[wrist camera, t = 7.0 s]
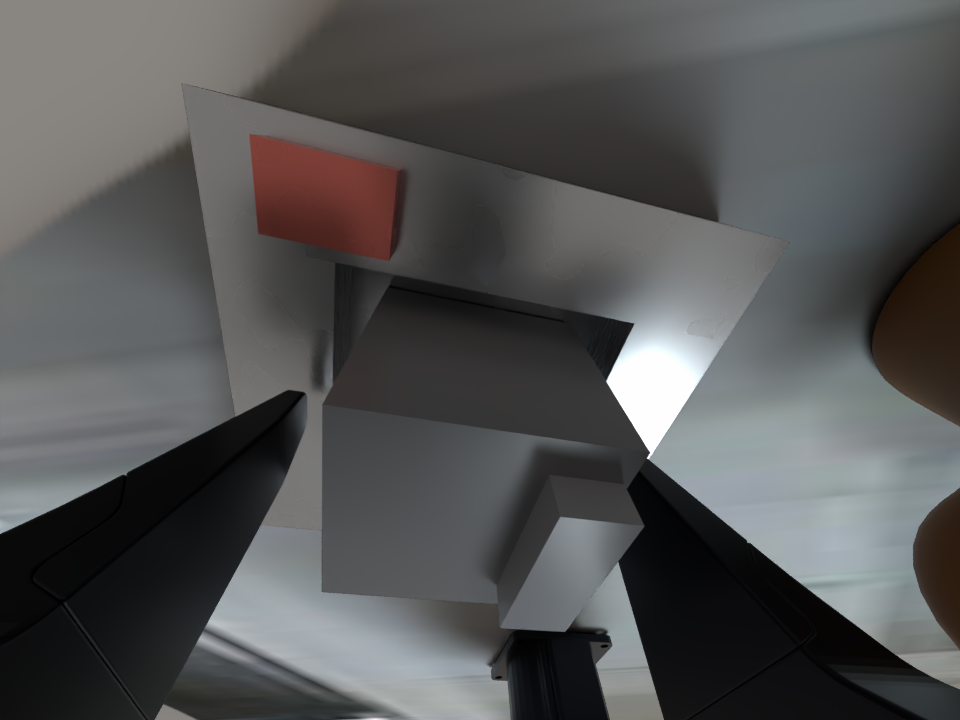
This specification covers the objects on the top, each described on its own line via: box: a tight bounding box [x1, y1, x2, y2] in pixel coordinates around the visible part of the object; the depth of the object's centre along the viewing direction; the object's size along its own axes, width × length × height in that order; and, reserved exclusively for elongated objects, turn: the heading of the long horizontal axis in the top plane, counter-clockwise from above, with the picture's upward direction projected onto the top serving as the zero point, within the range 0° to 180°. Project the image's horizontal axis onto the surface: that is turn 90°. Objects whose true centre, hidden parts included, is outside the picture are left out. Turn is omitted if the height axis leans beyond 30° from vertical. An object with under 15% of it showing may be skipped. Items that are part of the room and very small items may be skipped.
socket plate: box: [182, 84, 790, 531], centre depth 10 cm, size 12×12×3 cm
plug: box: [322, 287, 650, 632], centre depth 8 cm, size 5×5×6 cm
